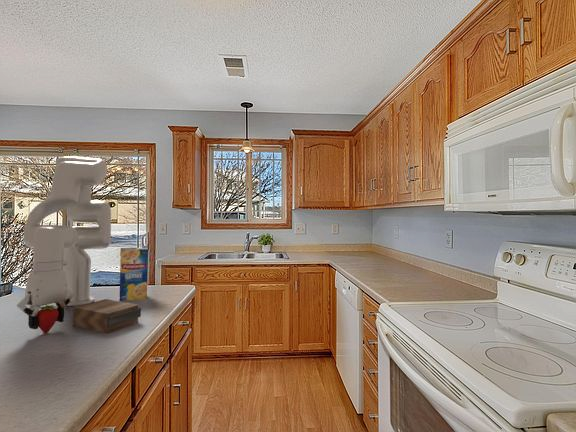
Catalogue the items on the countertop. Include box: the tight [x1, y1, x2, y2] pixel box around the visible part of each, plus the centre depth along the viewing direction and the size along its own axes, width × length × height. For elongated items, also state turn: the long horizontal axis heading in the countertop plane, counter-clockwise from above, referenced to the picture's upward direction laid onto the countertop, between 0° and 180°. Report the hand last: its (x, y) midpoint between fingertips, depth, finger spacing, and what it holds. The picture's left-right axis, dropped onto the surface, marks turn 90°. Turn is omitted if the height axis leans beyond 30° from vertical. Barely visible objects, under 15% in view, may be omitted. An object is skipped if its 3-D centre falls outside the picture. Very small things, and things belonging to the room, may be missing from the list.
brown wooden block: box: [72, 298, 142, 334], centre depth 110 cm, size 17×12×6 cm
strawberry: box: [36, 304, 59, 334], centre depth 100 cm, size 6×8×10 cm
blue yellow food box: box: [118, 247, 149, 302], centre depth 144 cm, size 7×11×22 cm, turn 117°
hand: (46, 324), depth 100 cm, fingers closed on strawberry, 6 cm apart
